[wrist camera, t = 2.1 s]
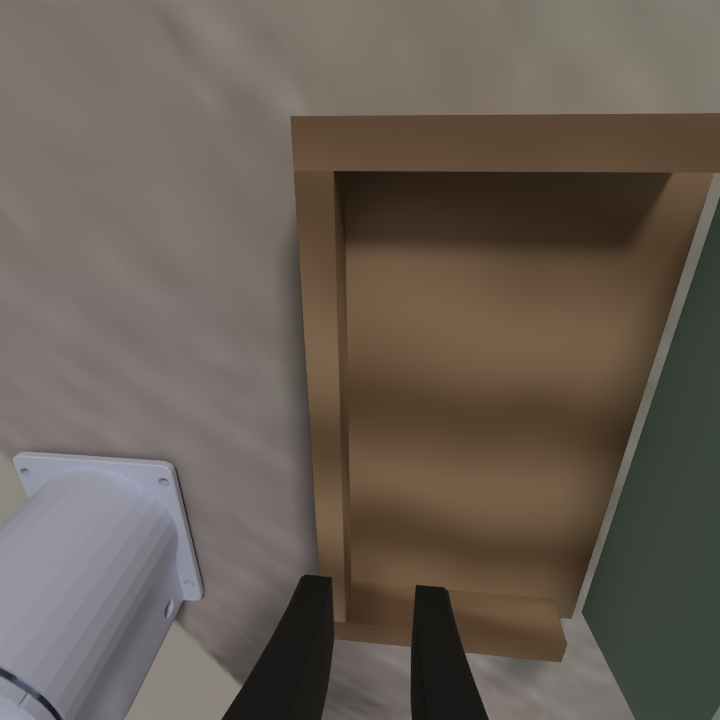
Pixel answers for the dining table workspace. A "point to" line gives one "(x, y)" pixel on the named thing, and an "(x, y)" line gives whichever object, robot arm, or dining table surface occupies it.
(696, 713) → the panel
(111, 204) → the dining table surface
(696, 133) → the tray
